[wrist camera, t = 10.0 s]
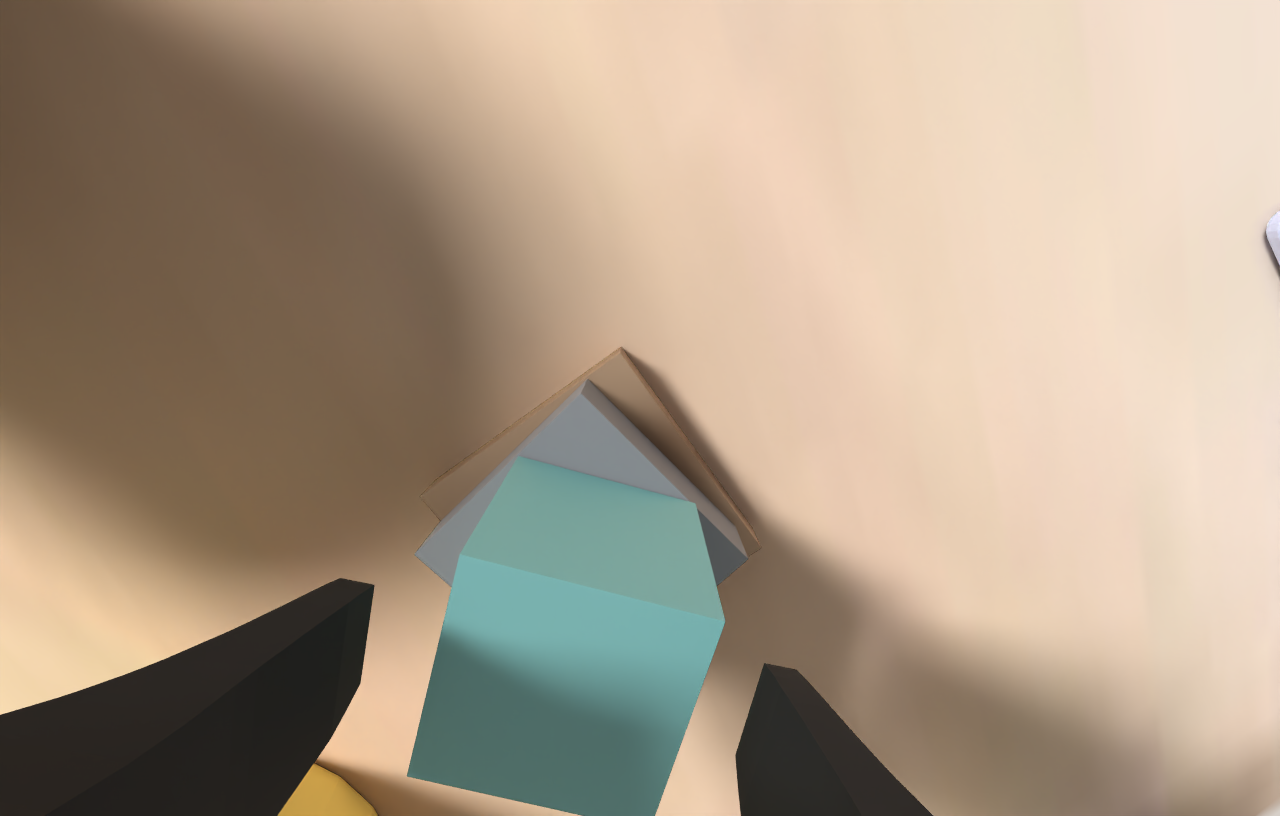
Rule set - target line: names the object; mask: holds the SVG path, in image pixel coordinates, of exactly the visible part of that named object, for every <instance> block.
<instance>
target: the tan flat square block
mask: <svg viewBox="0 0 1280 816" xmlns="http://www.w3.org/2000/svg"><path fill="white" fill-rule="evenodd" d="M587 379H589V380H590V381H591V382H592V383H593V384H594V385H595V386H596V387H597V388H598V389H599V390H600V391H601V392H602V393H603V394H604V395H605V396H606V397H607V398H608V399H609V400H610V401H611V402H612V403H613V404H614V405H615V406H616V407H617V408H618V409H619V410H620V411H621V412H622V413H623V414H624V415H625V416H626V417H627V418H628V419H629V420H630V421H631V422H632V423H633V424H634V425H635V426H636V427H637V428H638V429H639V430H640V431H641V432H642V433H643V434H644V435H645V436H646V437H647V438H648V439H649V440H650V441H651V442H652V443H653V444H654V445H655V446H656V447H657V448H658V449H659V450H660V451H661V452H662V453H663V454H664V455H665V456H666V457H667V458H668V459H669V460H670V461H671V462H672V463H673V464H674V465H675V466H676V467H677V468H678V469H679V470H680V471H681V472H682V473H683V474H684V475H685V476H686V477H687V478H688V479H689V480H690V481H691V482H692V483H693V484H694V485H695V486H696V487H697V488H698V489H699V490H700V491H701V492H702V493H703V494H704V495H705V496H706V497H707V498H708V499H709V500H710V501H711V502H712V503H713V504H714V505H715V506H716V507H717V508H718V509H719V510H720V511H721V512H722V513H723V514H724V515H725V516H726V517H727V518H728V519H729V520H730V521H731V522H732V523H733V524H734V525H735V526H736V529H737V531H738V534H739V536H740V539H741V541H742V544H743V547H744V549H745V552H746V554H747V557H748V556H750V555H751V554H753V553H755V552H756V551H758V550H759V549H761V546H760V544H759V541H758V539H757V537H756V535H755V533H754V531H753V528H752V527H751V526H750V524H749V523H748V521H747V520H746V519H745V517H744V516H743V514H742V513H741V512H740V510H739V509H738V508H737V506H736V505H735V503H734V502H733V501H732V499H731V498H730V497H729V495H728V494H727V492H726V491H725V490H724V488H723V487H722V485H721V484H720V483H719V481H718V480H717V479H716V477H715V476H714V474H713V473H712V472H711V470H710V469H709V468H708V466H707V465H706V463H705V462H704V461H703V459H702V458H701V456H700V455H699V454H698V452H697V451H696V450H695V448H694V447H693V445H692V444H691V443H690V441H689V440H688V439H687V437H686V436H685V434H684V433H683V432H682V430H681V429H680V427H679V426H678V425H677V423H676V422H675V421H674V419H673V418H672V416H671V415H670V414H669V412H668V411H667V410H666V408H665V407H664V405H663V404H662V403H661V401H660V400H659V398H658V397H657V396H656V394H655V393H654V392H653V390H652V389H651V387H650V386H649V385H648V383H647V382H646V381H645V379H644V378H643V376H642V375H641V374H640V372H639V371H638V369H637V368H636V367H635V365H634V364H633V363H632V361H631V360H630V358H629V357H628V356H627V354H626V353H625V352H624V350H623V349H622V347H620V348H619V349H617V350H616V351H615V352H613V353H612V354H610V355H609V356H608V357H606V358H605V359H603V360H602V361H601V362H599V363H598V364H596V365H595V366H594V367H592V368H591V369H589V370H588V371H587V372H585V373H584V374H582V375H581V376H580V377H578V378H577V379H575V380H574V381H573V382H571V383H570V384H569V385H567V386H566V387H564V388H563V389H562V390H560V391H559V392H557V393H556V394H555V395H553V396H552V397H550V398H549V399H548V400H546V401H545V402H543V403H542V404H541V405H539V406H538V407H536V408H535V409H534V410H532V411H531V412H529V413H528V414H527V415H525V416H524V417H523V418H521V419H520V420H518V421H517V422H516V423H514V424H513V425H511V426H510V427H509V428H507V429H506V430H504V431H503V432H502V433H500V434H499V435H497V436H496V437H495V438H493V439H492V440H490V441H489V442H488V443H486V444H485V445H483V446H482V447H481V448H479V449H478V450H477V451H475V452H474V453H472V454H471V455H470V456H468V457H467V458H465V459H464V460H463V461H461V462H460V463H458V464H457V465H456V466H454V467H453V468H451V469H450V470H449V471H447V472H446V473H444V474H443V475H442V476H440V477H439V478H438V479H436V480H435V481H434V482H433V483H432V484H431V485H430V486H429V487H428V488H427V489H426V491H425V492H424V493H423V494H422V495H421V496H420V497H421V499H422V500H423V501H424V502H425V503H426V504H427V506H428V507H429V508H430V509H431V510H432V511H433V513H434V514H435V515H436V516H437V517H438V519H439V520H440V521H441V520H442V519H443V518H444V517H445V516H446V515H448V514H449V513H450V512H451V511H452V510H453V509H454V508H455V507H456V506H457V505H458V504H459V503H460V502H461V501H462V500H463V499H464V498H465V497H466V496H467V495H468V494H469V493H470V492H471V491H472V490H473V489H474V488H475V487H476V486H477V485H478V484H479V483H480V482H482V481H483V480H484V479H485V478H486V477H487V476H488V475H489V474H490V473H491V472H492V471H493V470H494V469H495V468H496V467H497V466H498V465H499V464H500V463H501V462H502V461H503V460H504V459H505V458H506V457H507V456H508V455H509V454H510V453H511V452H512V451H513V450H514V449H515V448H517V447H518V446H519V445H520V444H521V443H522V442H523V441H524V440H525V439H526V438H527V437H528V436H529V435H530V434H531V433H532V432H533V431H534V430H535V429H536V428H537V427H538V426H539V425H540V424H541V423H542V422H543V421H544V420H545V419H546V418H547V417H548V416H549V415H551V414H552V413H553V412H554V411H555V410H556V409H557V408H558V407H559V406H560V405H561V404H562V403H563V402H564V401H565V400H566V399H567V398H568V397H569V396H570V395H571V394H572V393H573V392H574V391H575V390H576V389H577V388H578V387H579V386H580V385H581V384H582V383H583V382H585V381H586V380H587Z"/></svg>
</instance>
